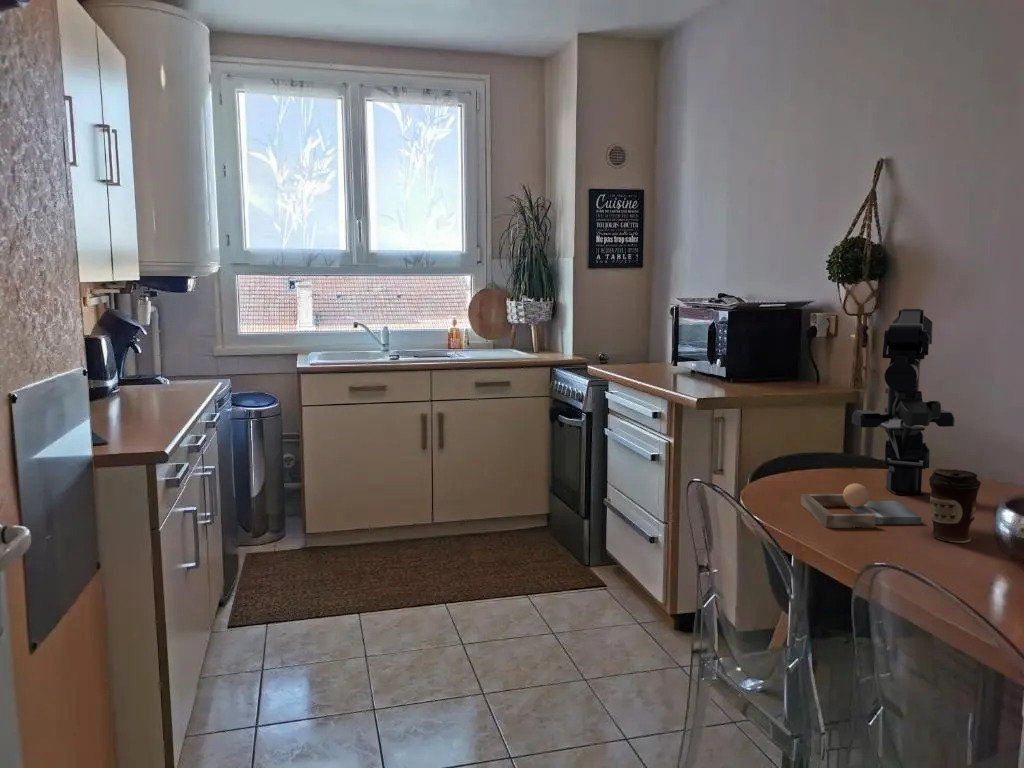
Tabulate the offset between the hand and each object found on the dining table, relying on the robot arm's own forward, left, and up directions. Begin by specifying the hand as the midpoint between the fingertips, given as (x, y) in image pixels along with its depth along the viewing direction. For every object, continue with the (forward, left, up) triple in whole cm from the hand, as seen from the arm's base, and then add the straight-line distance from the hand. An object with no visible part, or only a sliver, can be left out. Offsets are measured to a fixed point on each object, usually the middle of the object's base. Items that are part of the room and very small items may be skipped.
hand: (900, 458), depth 162 cm
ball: (+9, -1, -8) cm, 12 cm away
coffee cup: (-3, +16, -12) cm, 20 cm away
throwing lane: (+8, +1, -12) cm, 15 cm away
